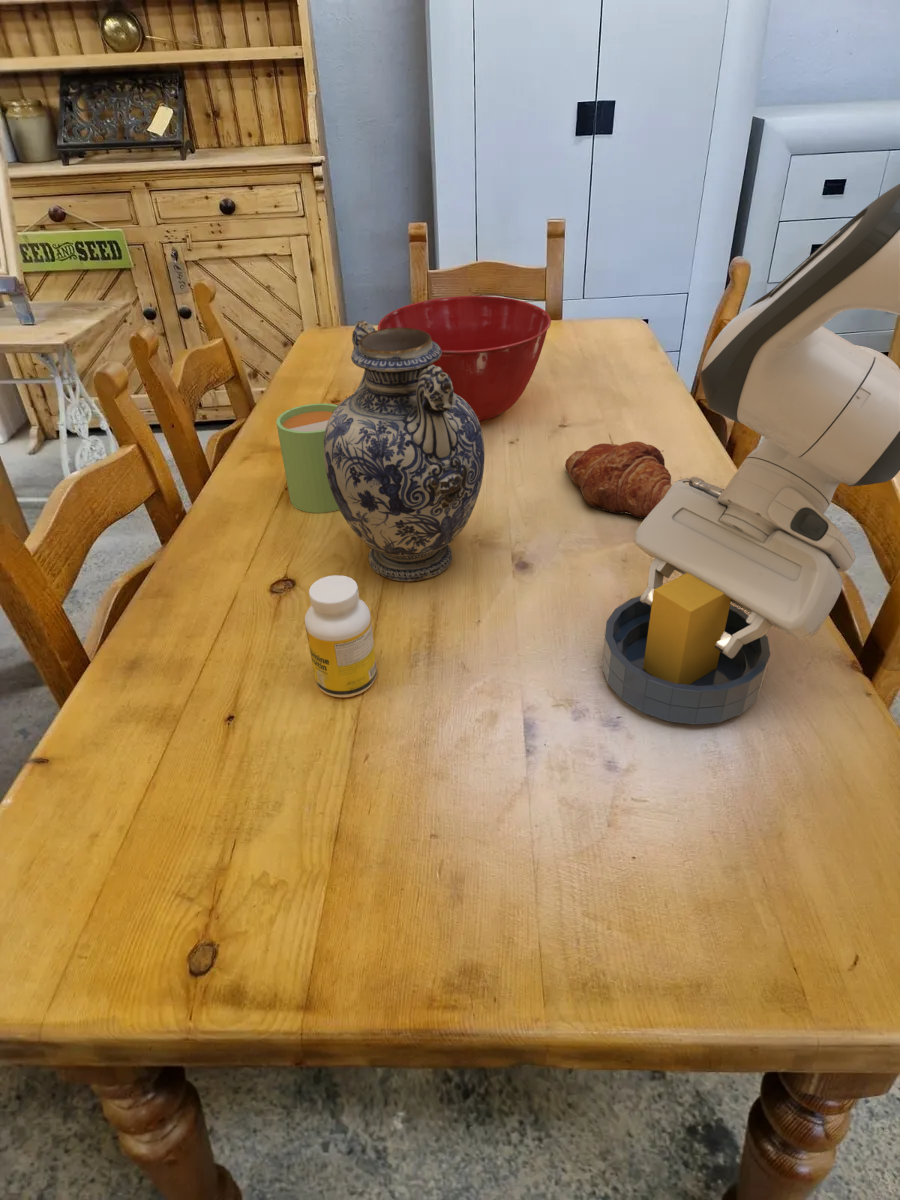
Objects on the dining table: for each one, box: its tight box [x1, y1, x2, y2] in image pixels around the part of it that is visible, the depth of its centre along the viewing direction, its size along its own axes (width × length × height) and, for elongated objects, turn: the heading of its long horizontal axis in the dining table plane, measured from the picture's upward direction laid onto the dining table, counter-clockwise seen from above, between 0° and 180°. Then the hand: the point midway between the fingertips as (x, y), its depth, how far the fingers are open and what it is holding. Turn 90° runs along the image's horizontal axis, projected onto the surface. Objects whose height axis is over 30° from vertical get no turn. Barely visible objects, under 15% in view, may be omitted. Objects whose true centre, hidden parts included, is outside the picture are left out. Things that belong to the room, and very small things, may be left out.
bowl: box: [601, 595, 771, 726], centre depth 79 cm, size 16×16×5 cm
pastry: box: [564, 441, 673, 519], centre depth 109 cm, size 17×15×8 cm
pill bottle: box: [304, 574, 378, 698], centre depth 79 cm, size 6×6×12 cm
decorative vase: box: [324, 320, 486, 582], centre depth 92 cm, size 21×19×28 cm
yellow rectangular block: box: [643, 573, 732, 685], centre depth 78 cm, size 4×6×10 cm
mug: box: [275, 403, 340, 514], centre depth 112 cm, size 13×10×12 cm
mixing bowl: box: [377, 295, 552, 423], centre depth 135 cm, size 28×28×15 cm
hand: (683, 628), depth 77 cm, fingers open, 8 cm apart
